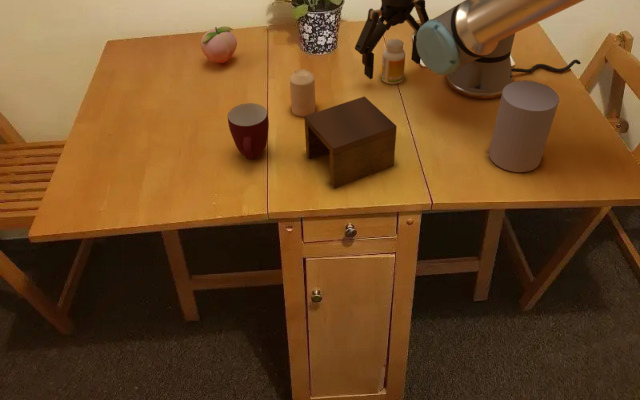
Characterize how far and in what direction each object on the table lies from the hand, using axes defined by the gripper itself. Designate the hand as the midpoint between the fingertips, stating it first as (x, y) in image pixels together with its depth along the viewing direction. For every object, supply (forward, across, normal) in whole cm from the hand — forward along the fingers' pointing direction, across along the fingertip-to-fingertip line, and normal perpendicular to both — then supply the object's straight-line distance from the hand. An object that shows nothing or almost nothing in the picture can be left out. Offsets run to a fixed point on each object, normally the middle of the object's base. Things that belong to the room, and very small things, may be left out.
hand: (392, 68), depth 141 cm
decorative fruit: (+3, +34, -29) cm, 45 cm away
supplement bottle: (+3, 0, 0) cm, 3 cm away
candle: (+3, +25, +1) cm, 25 cm away
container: (+2, -5, +38) cm, 39 cm away
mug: (+3, +42, +11) cm, 43 cm away
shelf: (+2, +25, +22) cm, 33 cm away
